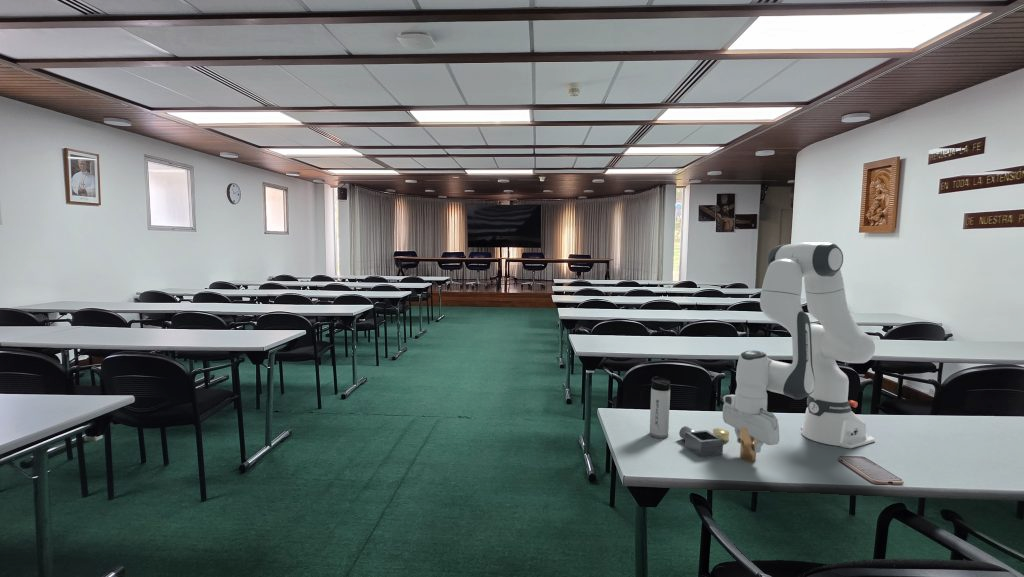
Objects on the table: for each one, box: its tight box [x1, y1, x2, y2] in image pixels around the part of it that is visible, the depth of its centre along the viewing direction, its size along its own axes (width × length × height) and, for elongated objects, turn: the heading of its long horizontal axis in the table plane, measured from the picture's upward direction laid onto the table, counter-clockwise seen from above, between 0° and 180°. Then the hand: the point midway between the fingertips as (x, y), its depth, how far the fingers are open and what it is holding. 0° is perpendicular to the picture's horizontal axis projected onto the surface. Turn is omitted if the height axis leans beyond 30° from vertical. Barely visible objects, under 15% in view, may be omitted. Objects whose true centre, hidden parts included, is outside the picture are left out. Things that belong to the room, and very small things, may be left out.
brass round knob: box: [712, 428, 730, 443], centre depth 160 cm, size 5×5×3 cm
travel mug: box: [649, 376, 671, 439], centre depth 163 cm, size 6×7×20 cm
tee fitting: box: [678, 425, 724, 458], centre depth 153 cm, size 8×14×5 cm, turn 14°
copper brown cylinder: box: [739, 427, 757, 463], centre depth 145 cm, size 4×4×10 cm
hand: (748, 447), depth 145 cm, fingers open, 5 cm apart
